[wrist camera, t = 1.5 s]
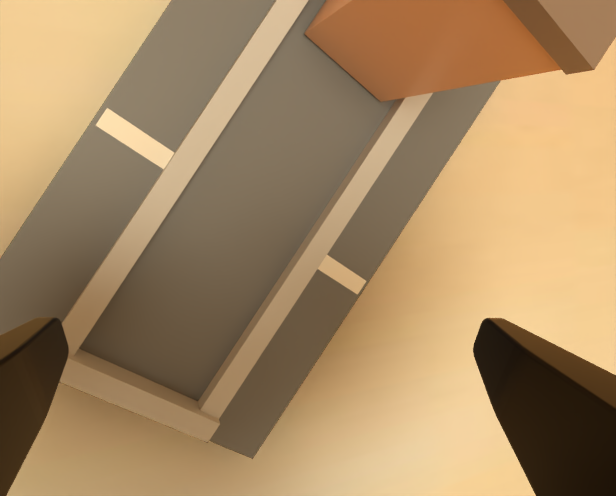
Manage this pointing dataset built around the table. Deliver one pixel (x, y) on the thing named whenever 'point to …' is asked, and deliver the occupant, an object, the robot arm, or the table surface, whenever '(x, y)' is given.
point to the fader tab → (460, 40)
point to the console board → (224, 217)
